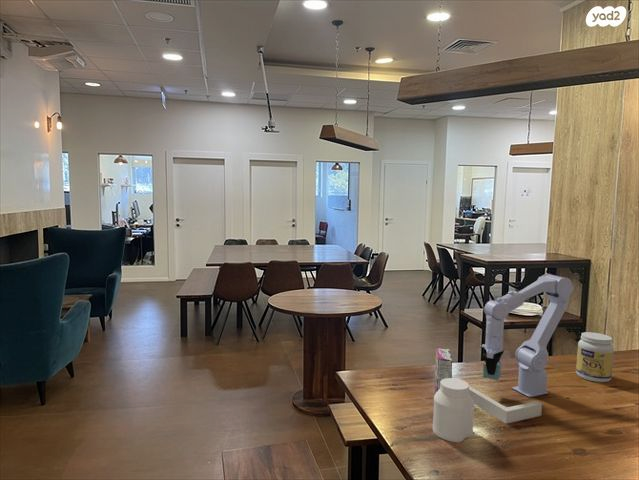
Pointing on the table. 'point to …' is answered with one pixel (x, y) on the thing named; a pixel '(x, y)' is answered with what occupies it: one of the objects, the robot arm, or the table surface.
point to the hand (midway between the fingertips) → (492, 371)
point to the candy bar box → (442, 366)
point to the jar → (453, 410)
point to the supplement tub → (595, 357)
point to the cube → (497, 372)
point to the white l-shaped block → (506, 408)
